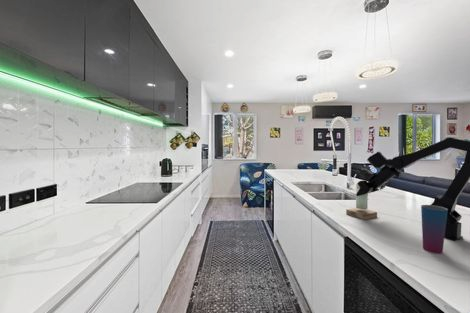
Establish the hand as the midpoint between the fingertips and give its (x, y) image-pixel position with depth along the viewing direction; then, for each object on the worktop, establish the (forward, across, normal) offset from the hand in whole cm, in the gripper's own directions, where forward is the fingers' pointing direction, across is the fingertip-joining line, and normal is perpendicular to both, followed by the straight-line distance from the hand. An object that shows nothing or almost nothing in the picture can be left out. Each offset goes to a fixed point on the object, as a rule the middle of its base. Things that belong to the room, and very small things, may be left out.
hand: (359, 194), depth 115 cm
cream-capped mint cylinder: (+4, 0, +6) cm, 7 cm away
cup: (-16, +20, +32) cm, 41 cm away
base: (+7, 0, +8) cm, 11 cm away
